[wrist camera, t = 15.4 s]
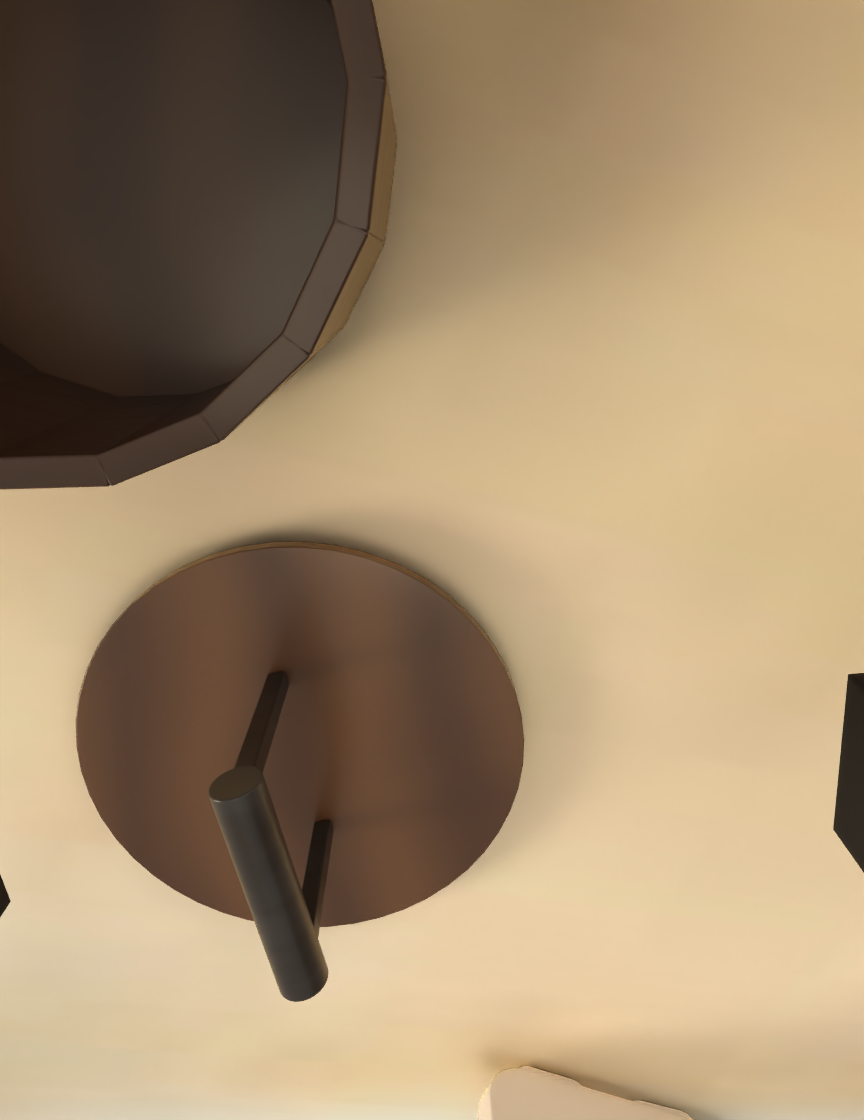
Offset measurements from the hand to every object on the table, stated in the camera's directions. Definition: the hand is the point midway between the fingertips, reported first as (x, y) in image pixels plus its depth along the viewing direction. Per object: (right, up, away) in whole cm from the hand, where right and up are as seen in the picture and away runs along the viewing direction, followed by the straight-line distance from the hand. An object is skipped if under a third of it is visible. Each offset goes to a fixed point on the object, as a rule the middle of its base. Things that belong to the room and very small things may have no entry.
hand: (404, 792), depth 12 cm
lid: (-5, -4, +20) cm, 21 cm away
